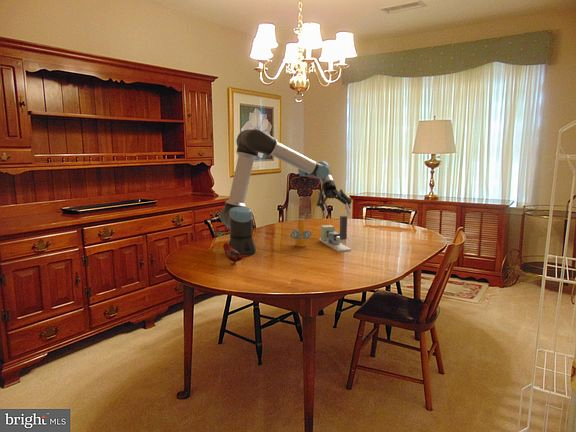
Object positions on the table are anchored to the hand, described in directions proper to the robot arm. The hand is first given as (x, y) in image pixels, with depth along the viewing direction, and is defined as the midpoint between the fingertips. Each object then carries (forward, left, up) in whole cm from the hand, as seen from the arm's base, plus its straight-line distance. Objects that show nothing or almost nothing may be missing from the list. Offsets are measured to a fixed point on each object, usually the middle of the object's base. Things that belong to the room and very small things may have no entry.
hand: (338, 214), depth 230 cm
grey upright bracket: (-2, 0, -14) cm, 14 cm away
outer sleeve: (+3, +2, -17) cm, 17 cm away
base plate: (+2, +2, -18) cm, 18 cm away
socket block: (+11, +7, -17) cm, 21 cm away
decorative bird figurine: (-48, +42, -18) cm, 66 cm away
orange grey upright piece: (-3, +20, -18) cm, 27 cm away
